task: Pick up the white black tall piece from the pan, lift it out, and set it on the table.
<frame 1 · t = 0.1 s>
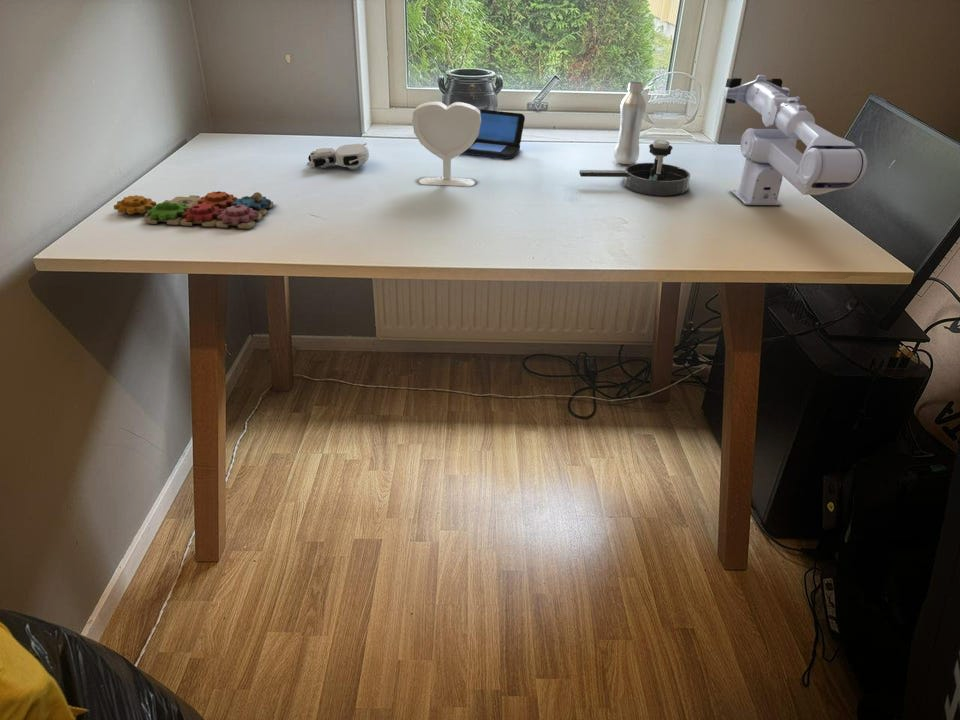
hand: (743, 83, 165), 22 cm above the table, tool horizontal, fingers open, 7 cm apart
game console: (490, 151, 189), on the table
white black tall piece: (655, 185, 166), resting in pan
pan: (655, 186, 166), on the table
gear puzzle: (192, 213, 144), on the table
heart sculpture: (447, 182, 165), on the table
pan handle: (603, 173, 163), point 2 cm above the table
robot toy: (339, 167, 174), on the table
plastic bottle: (625, 164, 182), on the table
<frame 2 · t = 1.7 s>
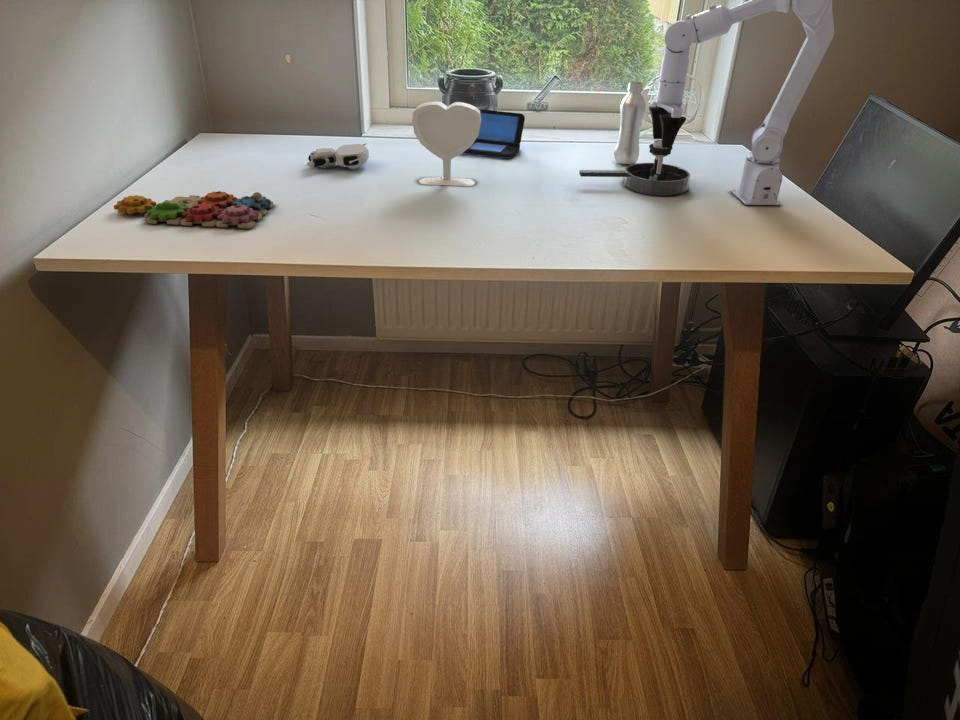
hand: (662, 143, 160), 10 cm above the table, tool pointing down, fingers open, 7 cm apart
nothing on the table moved.
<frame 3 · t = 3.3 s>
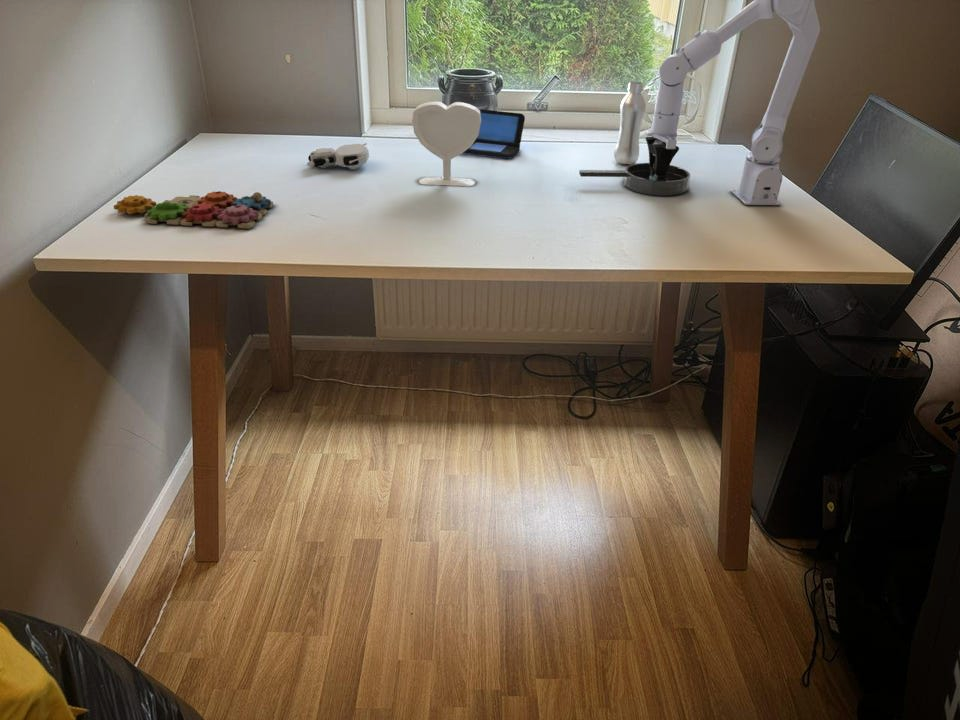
hand: (657, 171, 164), 3 cm above the table, tool pointing down, fingers closed on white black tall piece, 5 cm apart
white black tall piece: (655, 185, 165), resting in pan, touching gripper
everything else where it was.
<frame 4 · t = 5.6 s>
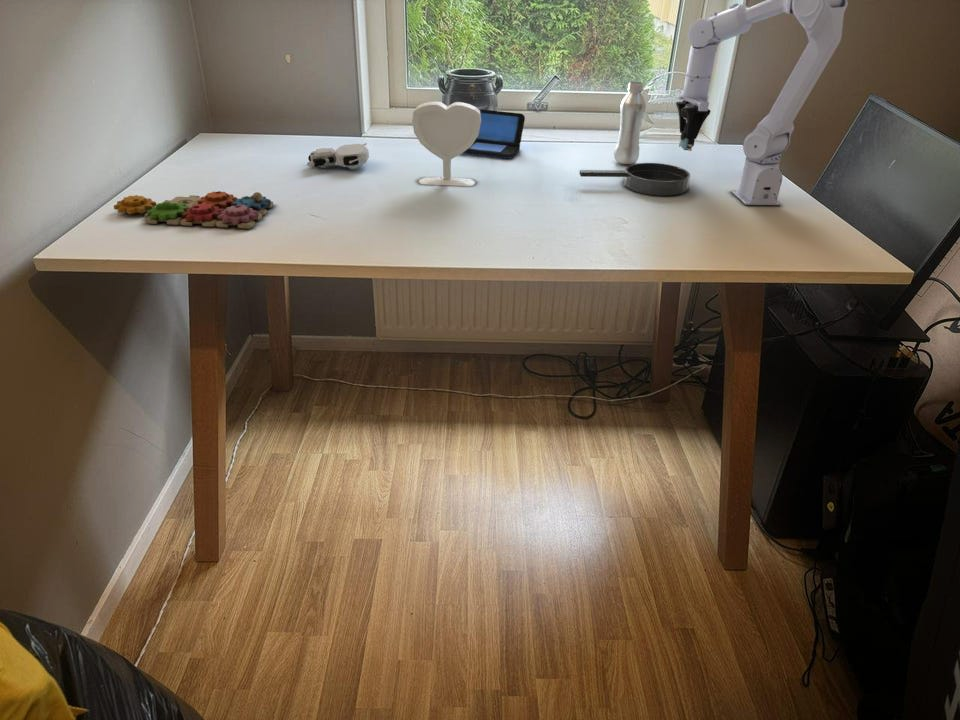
hand: (687, 135, 167), 10 cm above the table, tool pointing down, fingers closed on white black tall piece, 5 cm apart
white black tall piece: (685, 149, 169), point 7 cm above the table, touching gripper
everything else where it was.
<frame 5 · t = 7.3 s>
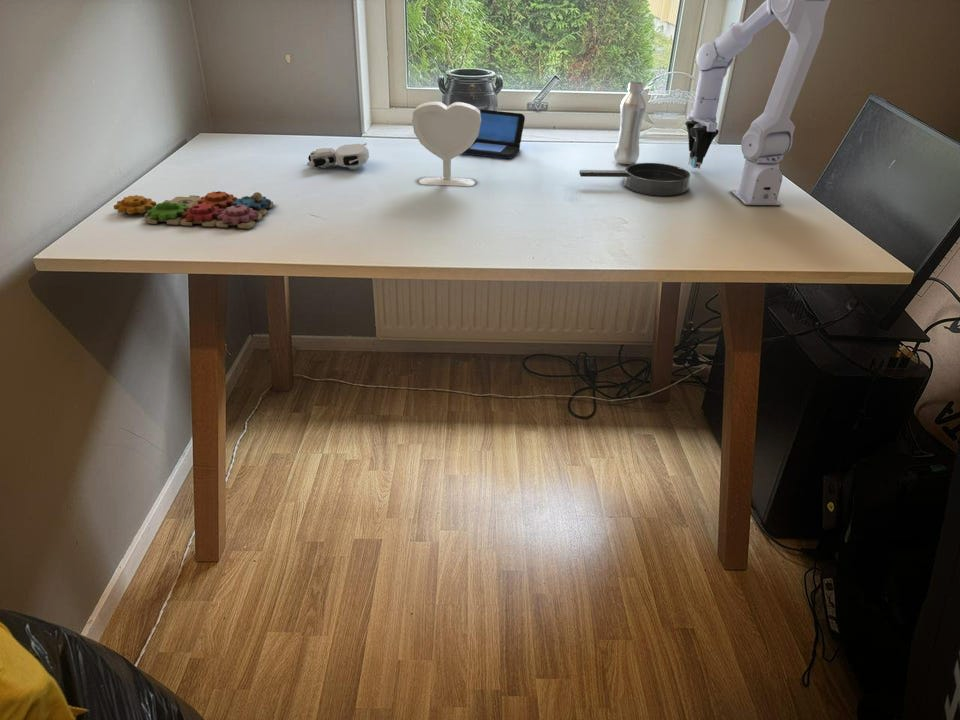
hand: (696, 154, 174), 5 cm above the table, tool pointing down, fingers closed on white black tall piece, 5 cm apart
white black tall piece: (694, 166, 176), point 1 cm above the table, touching gripper
everything else where it was.
when the fingers open (3 cm above the table, at t = 8.3 s): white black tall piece stays where it is, on the table.
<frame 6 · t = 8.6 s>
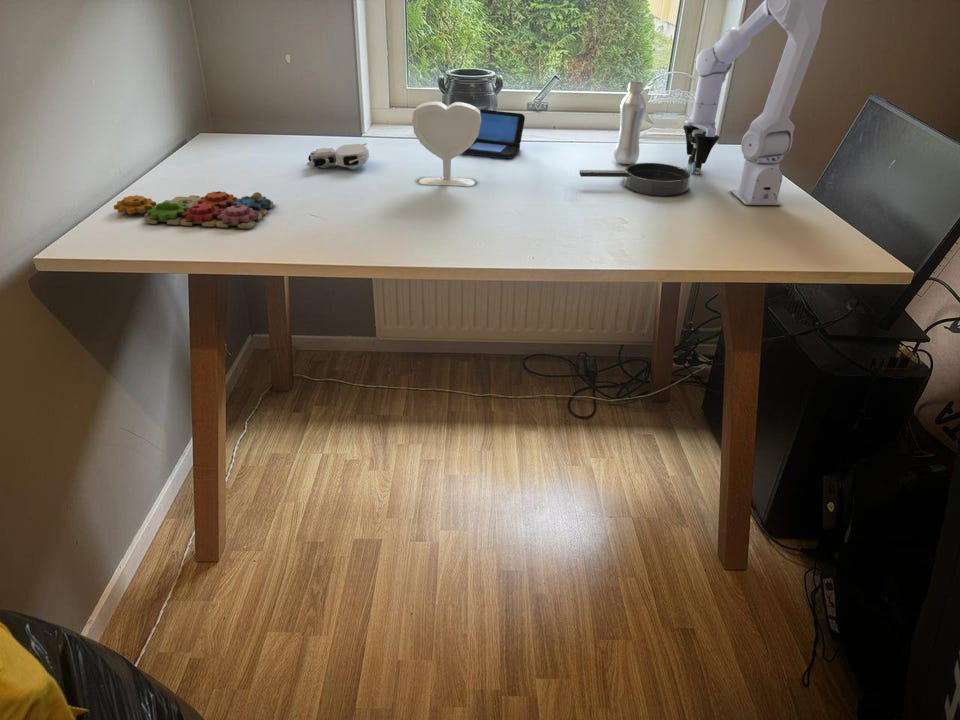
hand: (695, 158, 175), 3 cm above the table, tool pointing down, fingers open, 7 cm apart
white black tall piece: (693, 172, 176), on the table
everything else where it was.
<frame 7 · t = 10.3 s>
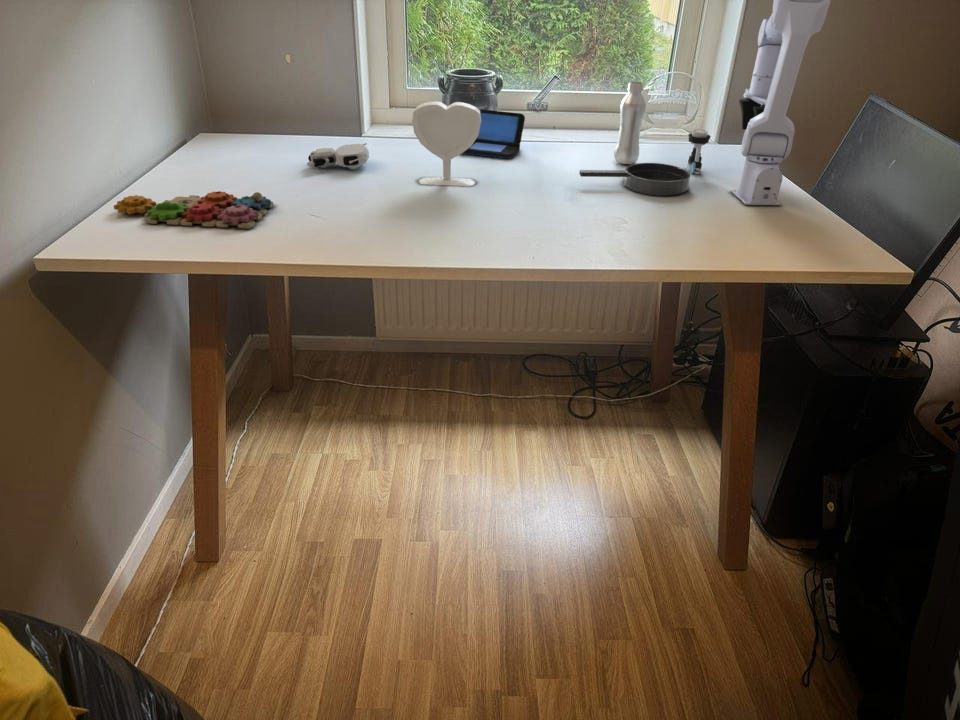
hand: (752, 133, 174), 9 cm above the table, tool pointing down, fingers open, 7 cm apart
nothing on the table moved.
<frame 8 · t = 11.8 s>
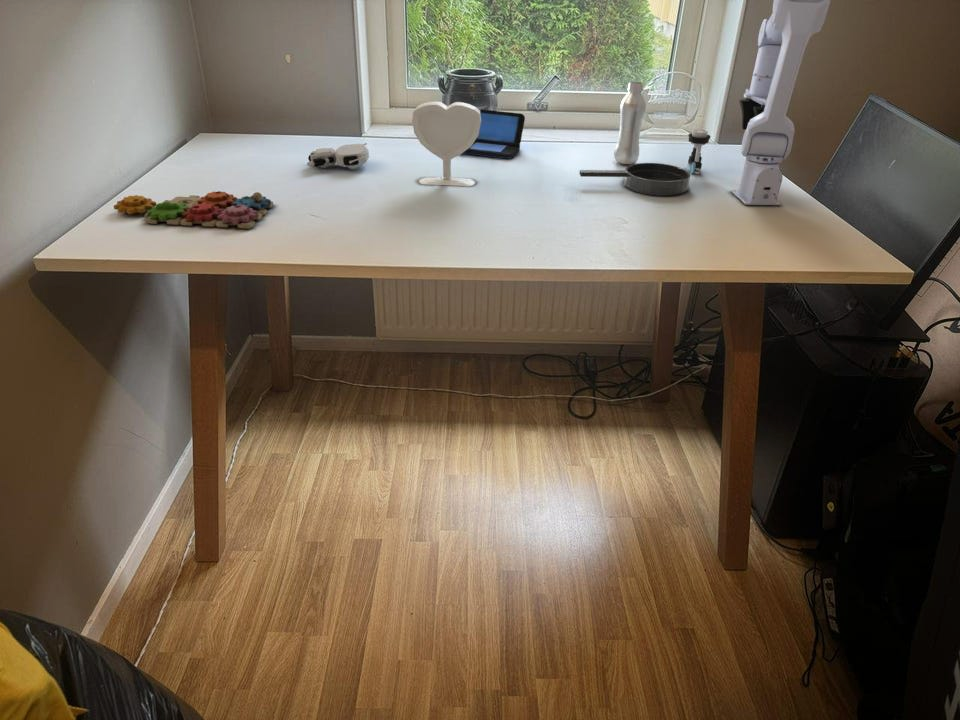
hand: (752, 133, 174), 9 cm above the table, tool pointing down, fingers open, 7 cm apart
nothing on the table moved.
at the end: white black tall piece inside the target area (0.1 cm from its centre), on the table; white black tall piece tilted 0°; the gripper is holding nothing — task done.
